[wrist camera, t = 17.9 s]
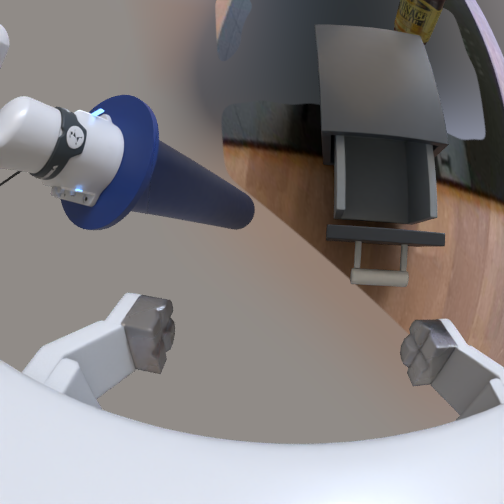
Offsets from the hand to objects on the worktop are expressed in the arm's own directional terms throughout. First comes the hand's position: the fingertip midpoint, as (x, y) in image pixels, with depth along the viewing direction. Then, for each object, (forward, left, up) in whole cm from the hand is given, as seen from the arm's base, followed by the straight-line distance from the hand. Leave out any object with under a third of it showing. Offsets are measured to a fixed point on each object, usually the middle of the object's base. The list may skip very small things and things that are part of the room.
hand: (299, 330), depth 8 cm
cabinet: (+6, +21, -26) cm, 34 cm away
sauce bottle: (+16, +39, -26) cm, 49 cm away
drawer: (+6, +8, -25) cm, 27 cm away
